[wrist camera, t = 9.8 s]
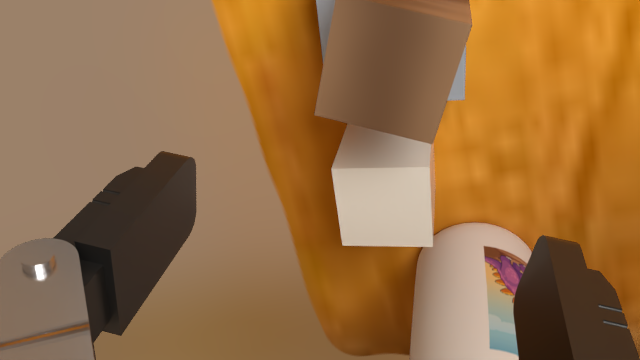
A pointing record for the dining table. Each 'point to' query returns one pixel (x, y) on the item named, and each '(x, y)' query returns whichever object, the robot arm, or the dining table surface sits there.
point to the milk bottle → (467, 294)
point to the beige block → (384, 189)
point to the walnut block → (393, 64)
